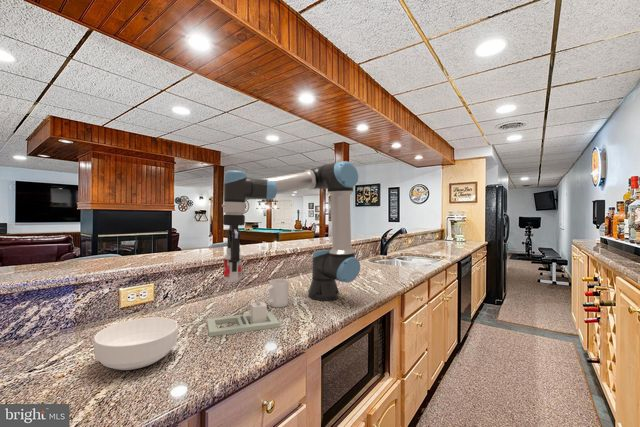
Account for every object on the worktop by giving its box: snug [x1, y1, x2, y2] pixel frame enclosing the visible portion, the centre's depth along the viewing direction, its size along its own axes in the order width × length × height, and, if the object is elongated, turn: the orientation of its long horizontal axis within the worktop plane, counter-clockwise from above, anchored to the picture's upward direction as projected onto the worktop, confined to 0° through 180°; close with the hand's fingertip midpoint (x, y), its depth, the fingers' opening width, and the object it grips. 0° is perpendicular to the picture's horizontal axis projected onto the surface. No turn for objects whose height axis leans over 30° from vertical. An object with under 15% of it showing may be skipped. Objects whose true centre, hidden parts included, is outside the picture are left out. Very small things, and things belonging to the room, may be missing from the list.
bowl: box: [93, 316, 179, 371], centre depth 82 cm, size 20×20×8 cm
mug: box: [264, 278, 290, 308], centre depth 132 cm, size 9×12×11 cm
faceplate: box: [206, 311, 281, 338], centre depth 109 cm, size 24×13×2 cm, turn 114°
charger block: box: [249, 301, 268, 324], centre depth 111 cm, size 5×5×7 cm
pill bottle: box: [223, 247, 243, 282], centre depth 106 cm, size 6×6×11 cm
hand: (232, 278), depth 106 cm, fingers closed on pill bottle, 6 cm apart
